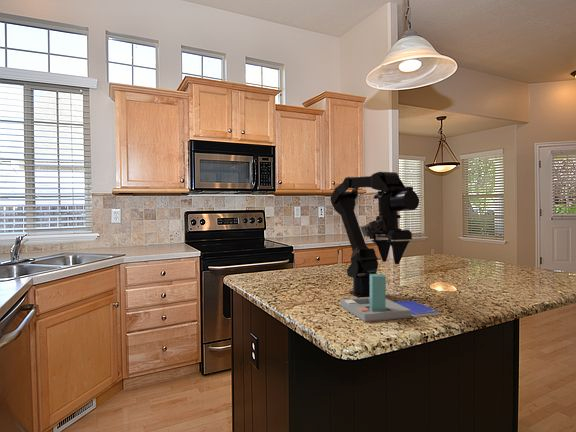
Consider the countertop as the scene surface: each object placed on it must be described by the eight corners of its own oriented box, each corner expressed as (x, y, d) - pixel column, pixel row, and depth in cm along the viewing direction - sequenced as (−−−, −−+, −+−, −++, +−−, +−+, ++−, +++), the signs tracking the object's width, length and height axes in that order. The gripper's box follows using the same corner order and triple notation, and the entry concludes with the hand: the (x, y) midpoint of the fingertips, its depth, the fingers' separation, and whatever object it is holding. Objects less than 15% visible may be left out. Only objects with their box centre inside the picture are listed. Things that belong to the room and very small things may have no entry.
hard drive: (440, 310, 102) (413, 300, 114) (415, 313, 100) (390, 302, 112) (440, 316, 102) (412, 305, 114) (415, 319, 100) (390, 307, 112)
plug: (369, 312, 103) (369, 273, 103) (382, 312, 103) (382, 273, 103) (372, 316, 99) (372, 276, 99) (385, 316, 99) (385, 276, 99)
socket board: (340, 305, 111) (340, 298, 111) (381, 302, 115) (381, 295, 115) (364, 321, 96) (364, 313, 96) (411, 317, 99) (411, 309, 99)
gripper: (353, 214, 121) (355, 261, 120) (374, 211, 102) (376, 267, 102) (385, 213, 122) (387, 260, 122) (411, 210, 104) (414, 265, 103)
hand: (390, 262), depth 112 cm, fingers open, 9 cm apart
